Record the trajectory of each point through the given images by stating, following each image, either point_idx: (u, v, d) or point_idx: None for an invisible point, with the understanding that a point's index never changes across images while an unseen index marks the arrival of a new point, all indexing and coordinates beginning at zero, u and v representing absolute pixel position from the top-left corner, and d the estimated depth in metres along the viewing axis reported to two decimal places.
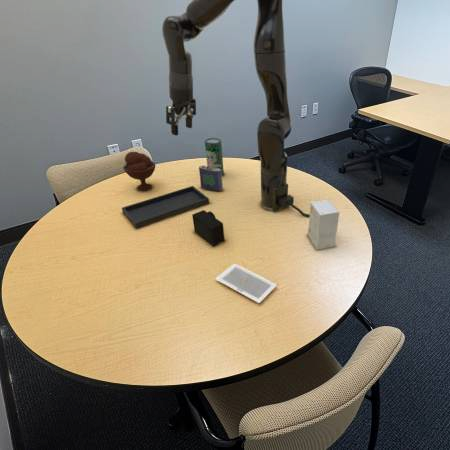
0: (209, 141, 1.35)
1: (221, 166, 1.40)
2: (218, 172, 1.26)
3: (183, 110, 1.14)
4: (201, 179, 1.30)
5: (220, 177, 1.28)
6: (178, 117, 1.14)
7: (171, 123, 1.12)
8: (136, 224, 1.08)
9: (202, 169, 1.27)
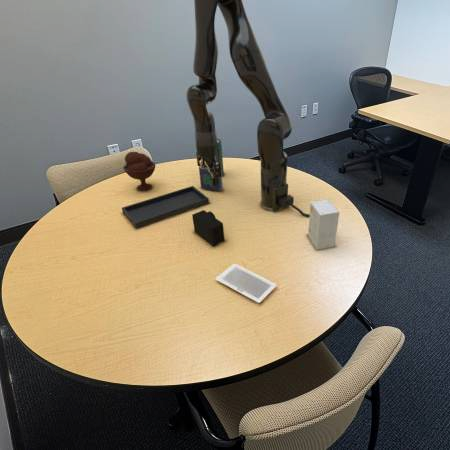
0: None
1: (221, 166, 1.40)
2: (218, 172, 1.26)
3: None
4: (201, 179, 1.30)
5: (220, 177, 1.28)
6: None
7: (220, 175, 1.24)
8: (136, 224, 1.08)
9: (202, 169, 1.27)
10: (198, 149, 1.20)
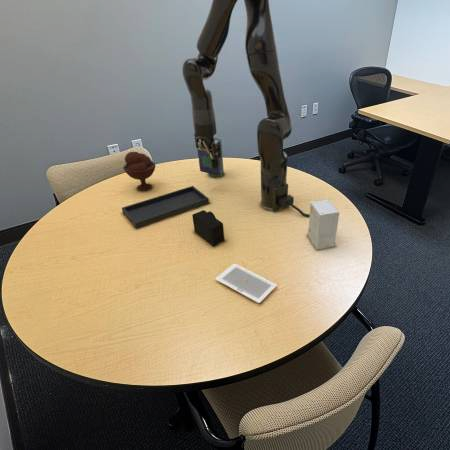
0: None
1: None
2: (217, 153, 1.22)
3: None
4: (200, 161, 1.26)
5: (220, 158, 1.24)
6: None
7: (219, 156, 1.20)
8: (136, 224, 1.08)
9: (201, 151, 1.23)
10: (196, 128, 1.16)
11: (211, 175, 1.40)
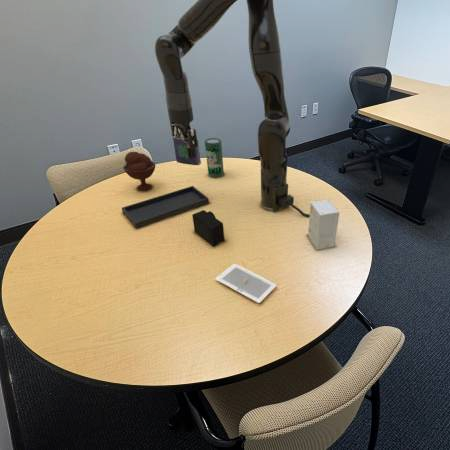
0: (209, 141, 1.35)
1: (221, 166, 1.40)
2: None
3: None
4: (176, 151, 1.15)
5: (197, 148, 1.13)
6: None
7: (196, 145, 1.09)
8: (136, 224, 1.08)
9: (176, 139, 1.12)
10: (170, 114, 1.05)
11: (211, 175, 1.40)
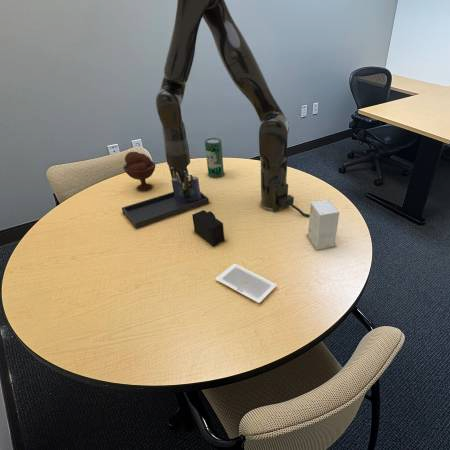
0: (209, 141, 1.35)
1: (221, 166, 1.40)
2: (196, 180, 1.19)
3: None
4: (176, 192, 1.20)
5: (198, 185, 1.21)
6: None
7: (191, 187, 1.16)
8: (136, 224, 1.08)
9: (177, 181, 1.17)
10: (168, 159, 1.11)
11: (211, 175, 1.40)
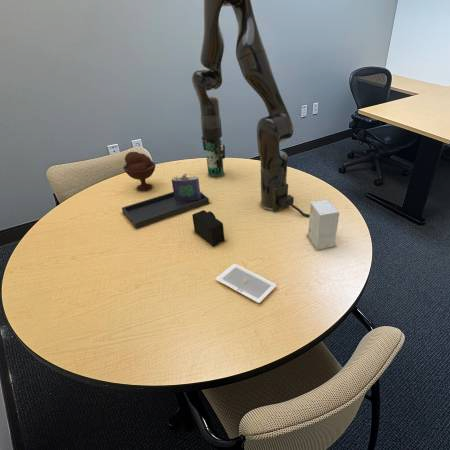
0: None
1: None
2: (196, 180, 1.19)
3: None
4: (176, 192, 1.20)
5: (198, 185, 1.21)
6: None
7: (223, 157, 1.34)
8: (136, 224, 1.08)
9: (177, 181, 1.17)
10: (204, 132, 1.29)
11: (211, 175, 1.40)
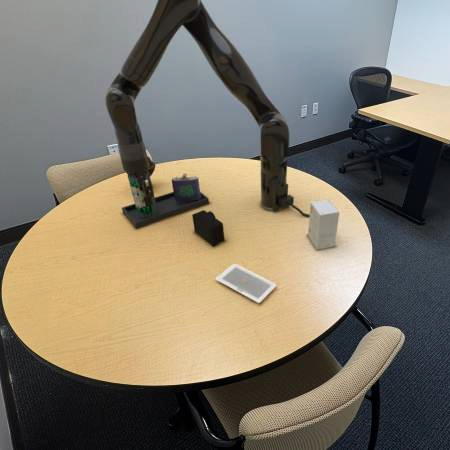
0: None
1: None
2: (196, 180, 1.19)
3: None
4: (176, 192, 1.20)
5: (198, 185, 1.21)
6: None
7: (152, 194, 1.06)
8: (136, 224, 1.08)
9: (177, 181, 1.17)
10: (123, 164, 1.02)
11: (140, 215, 1.12)
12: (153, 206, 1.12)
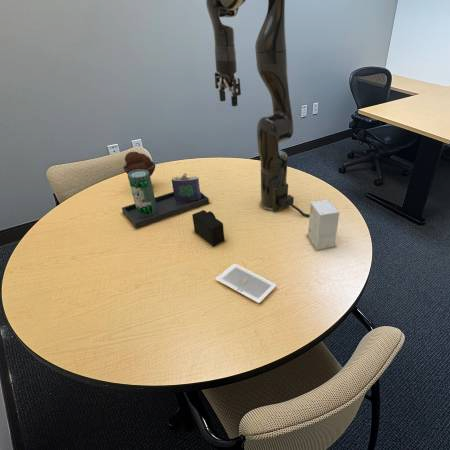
0: (134, 174, 1.07)
1: (152, 204, 1.12)
2: (196, 180, 1.19)
3: None
4: (176, 192, 1.20)
5: (198, 185, 1.21)
6: None
7: (239, 93, 1.26)
8: (136, 224, 1.08)
9: (177, 181, 1.17)
10: (218, 65, 1.22)
11: (140, 215, 1.12)
12: (153, 206, 1.12)
